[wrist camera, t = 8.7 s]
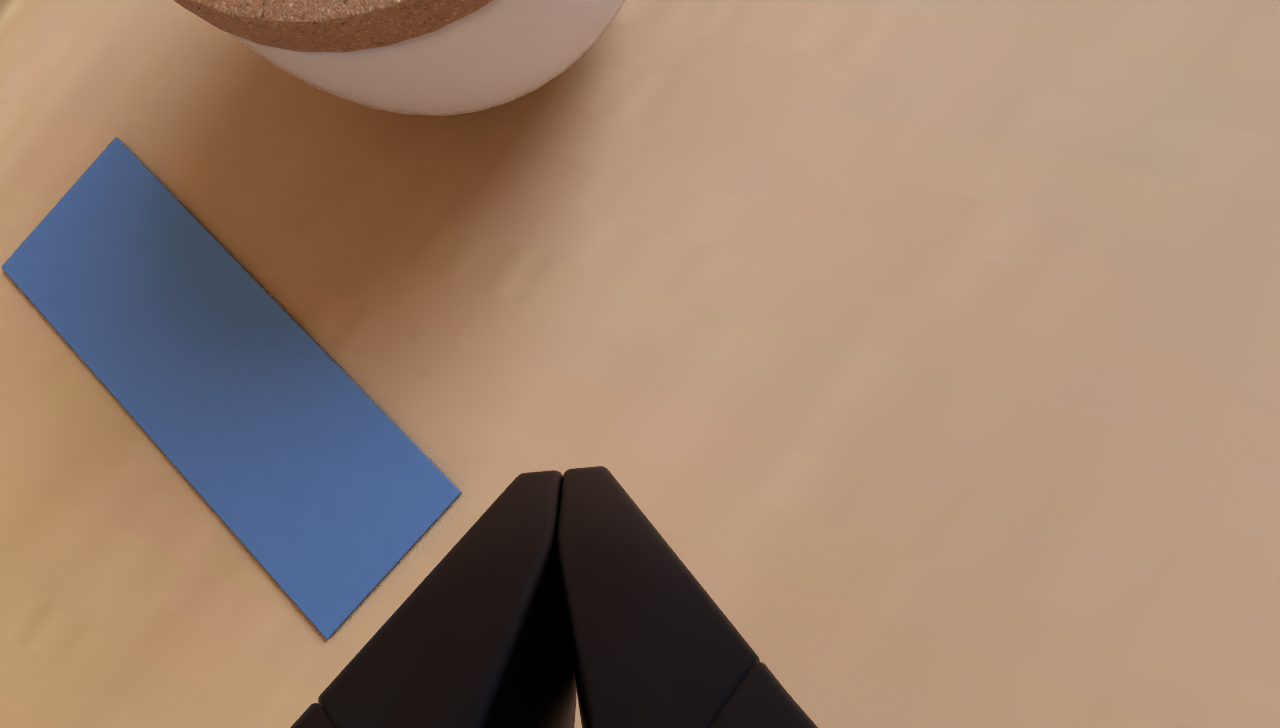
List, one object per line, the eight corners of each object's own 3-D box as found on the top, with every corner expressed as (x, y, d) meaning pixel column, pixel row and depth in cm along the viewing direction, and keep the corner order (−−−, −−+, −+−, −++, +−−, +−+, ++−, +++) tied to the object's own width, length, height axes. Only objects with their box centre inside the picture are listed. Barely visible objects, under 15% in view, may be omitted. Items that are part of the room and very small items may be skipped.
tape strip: (329, 638, 21) (326, 639, 21) (4, 268, 24) (0, 267, 24) (461, 492, 21) (460, 492, 21) (118, 138, 24) (115, 137, 24)
